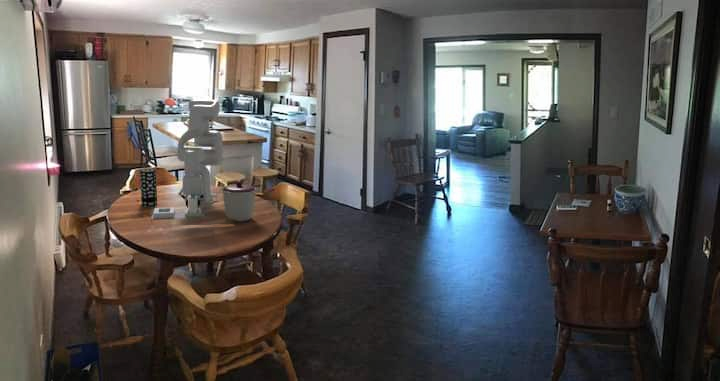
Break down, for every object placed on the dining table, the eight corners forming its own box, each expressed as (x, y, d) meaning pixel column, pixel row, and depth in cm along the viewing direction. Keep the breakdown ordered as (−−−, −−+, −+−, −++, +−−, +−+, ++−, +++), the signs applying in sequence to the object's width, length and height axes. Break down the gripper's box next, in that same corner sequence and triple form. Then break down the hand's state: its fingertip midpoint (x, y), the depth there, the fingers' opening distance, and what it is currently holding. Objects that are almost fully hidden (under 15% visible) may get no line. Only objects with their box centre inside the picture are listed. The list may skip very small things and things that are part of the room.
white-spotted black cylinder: (151, 207, 299) (150, 172, 294) (138, 205, 300) (136, 171, 296) (160, 203, 307) (158, 169, 302) (147, 202, 308) (145, 168, 304)
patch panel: (203, 212, 292) (203, 205, 291) (204, 219, 279) (204, 212, 278) (153, 214, 284) (153, 207, 284) (151, 221, 271) (151, 214, 270)
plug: (197, 212, 287) (196, 193, 285) (197, 215, 281) (196, 196, 279) (189, 212, 286) (188, 194, 284) (189, 215, 280) (188, 196, 278)
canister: (226, 225, 271) (225, 185, 266) (218, 216, 286) (217, 178, 282) (261, 222, 279) (261, 182, 274) (251, 213, 294) (251, 176, 290)
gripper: (208, 171, 285) (209, 204, 289) (175, 172, 280) (176, 205, 284) (209, 174, 278) (209, 208, 282) (174, 175, 273) (176, 209, 277)
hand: (193, 206), depth 283 cm, fingers open, 4 cm apart
